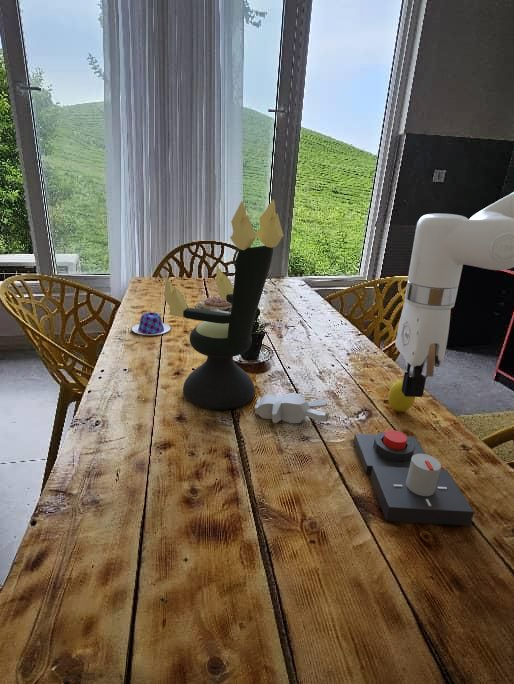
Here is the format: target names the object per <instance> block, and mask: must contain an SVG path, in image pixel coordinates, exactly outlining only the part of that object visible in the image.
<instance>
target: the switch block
mask: <svg viewBox="0 0 514 684" xmlns="http://www.w3.org/2000/svg"><path fill="white" fill-rule="evenodd" d="M385 432H386V431H382V432H379V433H377V434H369V433H354V437H353V444H354V447H355V449H356V453H357V455H358V458H359V460H360V463H361V465H362V468H363V472H364V473H365V475H368V476H371V471H372V466H384V467H403V468H410V463H411V459H412V456H413V455H415V454H427V452H426V451H425V450H424V448H423V446H422V444H421V443H420V441H419V440H418V438H417V436H408V435H406V437H407V443H406V447H405V449H403V450H395V449H392V448H389V447H387V446H386V445H384V443H383V439H384V434H385Z"/></svg>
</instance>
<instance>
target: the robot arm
mask: <svg viewBox="0 0 514 684" xmlns="http://www.w3.org/2000/svg"><path fill="white" fill-rule="evenodd" d="M415 227H416V228H415V231H414V232H415V233H414V237H413V238H414V239H413V245H412V252H411V257H410V263H409V269H408V275H407V282H406V288H405V293H404V298H403V299H404V303H403V306H402V310H401V313H400V319H399V323H398V327H397V332H396V337H395V343H394V344H395V347H396V349H397V351H398V352H399V353H400V354H401V356H402V357H403V358H404V374H403V380H402V381H403V384H402V390H401V391H402V393H403V394H404V396H406V397H415V398H422V397H423V396H424V391H425V386H426V381H427V378H428V377H434V376H435V375H434V373H435V367H436V368H440V367H441V366H442V365H443V362H444V359H445V354H446V351H447V345H448V338H449V331H450V322H451V313H452V312H451V311H452V310H451V309H453V308H454V307H455V303H456V299H457V295H458V289H459V285H460V280H461V275H462V271H463V267H464V265H465V266H471V267H476V268H480V269H486V270H490V271H491V270H492V271H504V270H509V269H512V268H514V191H513V192H511V193H509V194H508V195H506V196H504V197H503V198H500V199H498V200H497V201H494V203H491V204H489V205H488V206H486V207H485V208H483V209H481V210H479V211H478V212H476V213H474V214H473V215H472V216H471V217H470V218H468V217H467V216H464V215H460V214H453V213H427V214H423V215H422V216H420V218H419V219H418V220H417V222H416V226H415Z"/></svg>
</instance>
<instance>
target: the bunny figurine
mask: <svg viewBox="0 0 514 684" xmlns="http://www.w3.org/2000/svg"><path fill="white" fill-rule="evenodd" d="M327 406H328V401H327V400H326V399H325V398H319V399H315V400H311V401H307V400H306V398H305V397H304V395H303V394H302V393H298V392H288V393H285V394H283V393H282V392H278V393H276V395H274V394H270V393H267V394H265V395H263V396H262V397H261V398H257V400H256V403H255V406H254V414H255V415H258V416H259V417H260V418H261V419H267V420H271V419H272V420H271V421H272V423H273V424H278V423H279V422H280V421H284V422H286V423H290V424H301V423H302V421H303V420H305V418H307V417H308V418H309V419H312V420H314V421H317V422H322V423H323V422H326V420H327V412H325V411H323V410H322V411H321V410H317V409H313V408H323V407H324V408H325V407H327Z"/></svg>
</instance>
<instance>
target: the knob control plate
mask: <svg viewBox="0 0 514 684" xmlns="http://www.w3.org/2000/svg"><path fill="white" fill-rule="evenodd" d="M408 472H409V468H403V467H384V466H372V471H371V475H369V476H370V477H369V480H370V483H371V485H372V487H373V489H374V493H375V496H376V498H377V501H378V503H379V506H380V508H381V511H382V514H383V517H384V519H385V522H399V523H413V524H414V523H417V524H431V525H432V524H433V525H434V524H435V525H453V526H469V527H470V526H471V523H472V520H473V517H474V514H475V511H474V509H473V507H472V506H471V504H470V503H469V501H468V500H467V498H466V497H465V495H464V493H463V492H462V490H461V489H460V487H459V486H458V484H457V483H456V481H455V480H454V478H453V477H452V475H451V473H450V472H449V470H448V469H440V473H439V477H438V481H437V485H436V488H435V492H434V494H433V495H431V496H421V495H417V494H415V493H413V492H412V491H410V490H409V489H408V487H407V485H406V481H407V476H408Z"/></svg>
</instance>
